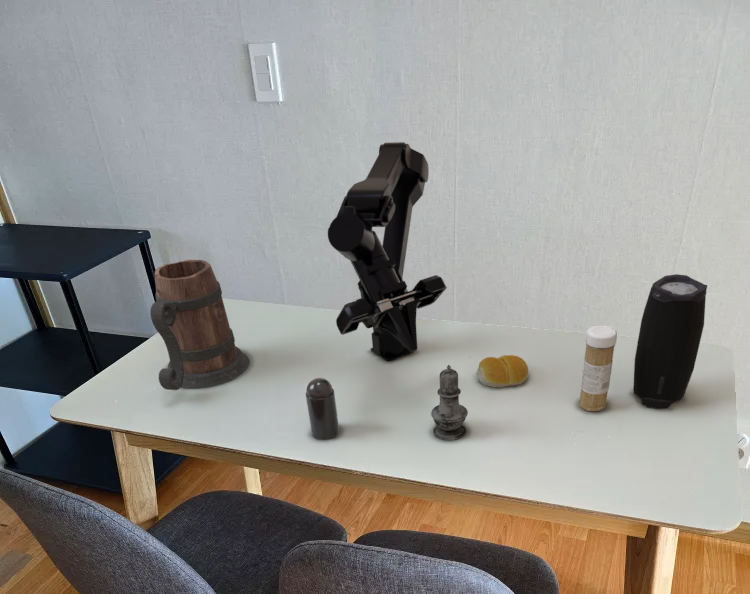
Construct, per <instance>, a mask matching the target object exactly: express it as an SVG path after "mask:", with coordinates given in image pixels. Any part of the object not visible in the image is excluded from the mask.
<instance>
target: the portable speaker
mask: <svg viewBox="0 0 750 594" xmlns="http://www.w3.org/2000/svg"><path fill="white" fill-rule="evenodd" d="M707 290H708V285H707V284H704V283H703V282H700V281H698V280H696V279H694V278H691V277H690V276H689V275H687V274H676V273H675V274H669V275H664V276H662V277H660V278H659V279H658V280H656V281H655V282H653V283H652V284H651V287H650V291H649V294H648V298H647V299H646V303H645V306H644V309H643V313H642V317H641V321H640V327H639V332H638V338H637V344H636V349H635V356H634V367H633V387H632V388H633V390H632V391H633V395H636V396H637V398H639V399H640V400H641V403H642V405H643V406H645V407H646V408H650V409H657V410H661V409H664V410H665V409H669V407H671V405H673V404H674V403H677V402H679V401H681V400H683V398H684V396H685V394H686V391H687V389H688V386H689V383H690V381H691V378H692V375H693V372H694V370H695V365H696V360H697V357H698V353H699V348H700V343H701V340H702V335H703V331H704V326H705V315H706V300H707V299H706V297H707V292H708V291H707Z"/></svg>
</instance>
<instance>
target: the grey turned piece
mask: <svg viewBox="0 0 750 594" xmlns="http://www.w3.org/2000/svg"><path fill="white" fill-rule="evenodd" d="M461 391H462V390H461V389H460V388H459V373H458V371H456V370H455V369H453V368H452V366H451V365H450V364H448V365H447V366H446V369H445V368H444V369H443V370H441V371H440V373H439V388H438V389H437V395H439V404H437V405H435V406H434V407H433V408H432V409H431V411H430V416H431V418H432V420H433V421H434V424H435V426H434V428H433V435H434V436H435V437H436V438H438V439H440V440H444V441H454V440H459V439H461V438H462V437H464V436H465V435H466V432H467V429H466V427H465V425H464V424H465V421H466V419H467V417H468V414H469V411H468V408H467V407H465V406H464V405H462V404H460V395H461Z"/></svg>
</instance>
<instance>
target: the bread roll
mask: <svg viewBox="0 0 750 594" xmlns="http://www.w3.org/2000/svg"><path fill="white" fill-rule="evenodd" d="M476 375H477V378H478V380H479V382H480V383H481V384H482V385H484V386H487V387H492V388H503V387H508V386H518V385H521V384H522V383H524V382H525V380H526V379H527V377H528V375H529V366H528V364H527V362H526V361H525V360H524V359H523V358H522V357H520V356H518V355H513V354H512V355H511V354H509V355H507V354H505V355H501V356H499V357H495V356H488V357H485V358H483V359H482V360H480V362H479V364H478V367H477V371H476Z"/></svg>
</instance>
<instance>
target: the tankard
mask: <svg viewBox="0 0 750 594" xmlns="http://www.w3.org/2000/svg"><path fill="white" fill-rule="evenodd" d="M154 278H155V279H154V280H155V281H154V282H155V291H156V292H155V294H154V295H155V301H154V302H152V304H151V306H150V312H149V313H150V320H151V323H152V325H153V327H154V329H155V330H156V331H157V333H158V334H159V336H160V337H161V338H162V340H163V342H164V344H165V347H166V351H167V353H168V358H169V362H168V363H167V368H161V370H159V373H158V382H159V384H160V386H161V387H162V388H163V389H164V390H167V391H168V390H169V391H179V390H180V389H195V390H197V389H206V388H211V387H215V386H219V385H220V386H221V385H224V384H225V383H228V382H231V381H233V380H234V379H237V378H238V377H240V376H241V375H243V374H244V373H245V372H246V371H247V370H248V368H249V366H250V363H251V362H250V358H249V356H248V355H247V354H246V353H244V352H243V351H242V350H241V348H239V347H238V346H236V344H235V343H236V339H235V335H234V332H233V329H232V328H231V326H230V322H229V319H228V314H227V311H226V306H225V304H224V300H223V296H222V295H223V290H222V288H221V283H220V282H219V281H218V280H217V278H216V275H215V272H214V270H213V268H212V266H211V264H210V263H209V262H208V261H206V260H205V259H204V260H202V259H184V260H180V261H177V262H171V263H166V264H162V265H160V266H158V267H157V268H156V269H155V271H154Z"/></svg>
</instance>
